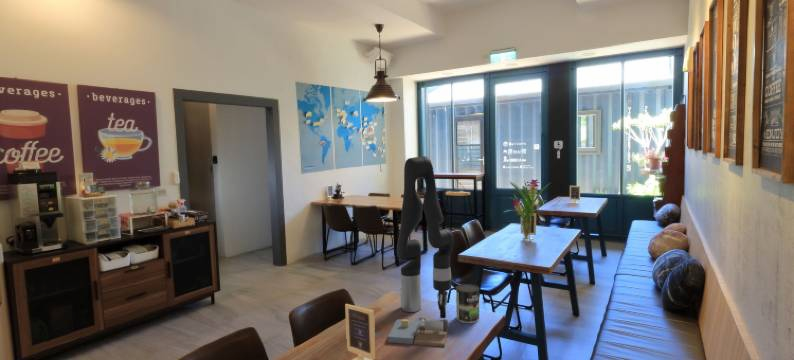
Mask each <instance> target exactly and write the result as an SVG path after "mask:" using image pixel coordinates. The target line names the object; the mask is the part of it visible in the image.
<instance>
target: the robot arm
mask: <svg viewBox="0 0 794 360" xmlns="http://www.w3.org/2000/svg"><path fill="white" fill-rule="evenodd" d="M434 172H435V171H434V166H433V163H432V161H431V159H430V158H429V157H428V156H426V155H422V156H415V157H409V158H407V160H405V162H404V169H403V197H402V205H401V216H400V217H401V218H400V225H399V226H400V227H399V234H398V239H397V244H396V256H397V258H398V260H400V261H409V262H408V263H407V264H405V265H403V266H401V268H400V289H399V291H400V307H401V310H402V311H404V312H407V313H416V312H419V311H421V310H422V294H421V293H422V289H421V285H422V282H421V268H422V263H421V262H422V246H421V243H420V241H419V240H418V239H417V238H416V239H409V238H410V235H412V232H413V231H414V230H415V229H416V227H417V226H418V225H419V223H420V222H421V220H422V218H423V217H422V216H423V212H424V216H425V220H426V222H427V239H428V243H429V244H430V246H431V247H432V248H434V249H438V250H437V251H436V252H434V254H433V255H432V256H433V257H432V265H433V266H432V267H433V268H432V285H433V289H434V290H435V291H437V294H436V296H437V306H438V310H439V319H446V316H447V312H446V311H447V303H448V294H449V293H448V291H449V290H451V289H452V270H451V254H452V250H453V246H454V235H453V233H452V231H451V230H450V229H448V228H444V229H443V228H442V229H440V225H441V224H442V223H444V215H443V212H442V209H441V205H440V202H439V197H438V193H437V185H436V180H435V179H436V178H435V173H434ZM418 179H423V180H424V183H425V192H424V197H423V200H422V199H421V198H420V195H419V194H418V192H417V189H416V182H417V180H418Z"/></svg>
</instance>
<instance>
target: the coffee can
mask: <svg viewBox="0 0 794 360" xmlns="http://www.w3.org/2000/svg"><path fill="white" fill-rule="evenodd" d="M455 293H456V295H455V296H456V297H455V300H456V306H455V307H456V308H455V309H456V312H455V313H456V316H455V317H456V320H457V321H458V322H459V323H460V322H461V323H462V324H463V323H464V324H475V323H478V322H479V321H480V287H479V286H478V285H476V284H471V283H470V284H469V283H463V284H459V285H456V286H455Z"/></svg>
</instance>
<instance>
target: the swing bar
mask: <svg viewBox="0 0 794 360" xmlns="http://www.w3.org/2000/svg"><path fill="white" fill-rule="evenodd" d="M417 321H418V329H419V330H432V331H443V332H447V331H448V332H449V324H448V323H449V322H448V321H449V320H448V319H446V318H443V319H442V318H437V319H436V318H425V317H419V318H418V319H417Z"/></svg>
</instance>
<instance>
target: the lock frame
mask: <svg viewBox="0 0 794 360" xmlns="http://www.w3.org/2000/svg"><path fill="white" fill-rule="evenodd" d="M448 332H449V330H448V331H447V332H443V331H432V330H419V329H418V320H412V319H411V320H410V319H404V318H402V319H396V320H395V322H394V324H393V326H392V327H391V330H390V332H389V334H388V336H387V342H388V343H391V344H394V343H395V344H406V345H413V344H414V345H416V346H417V345H418V346H432V347H433V346H434V347H444V348H445V346H446V342H447V337H448Z"/></svg>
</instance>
